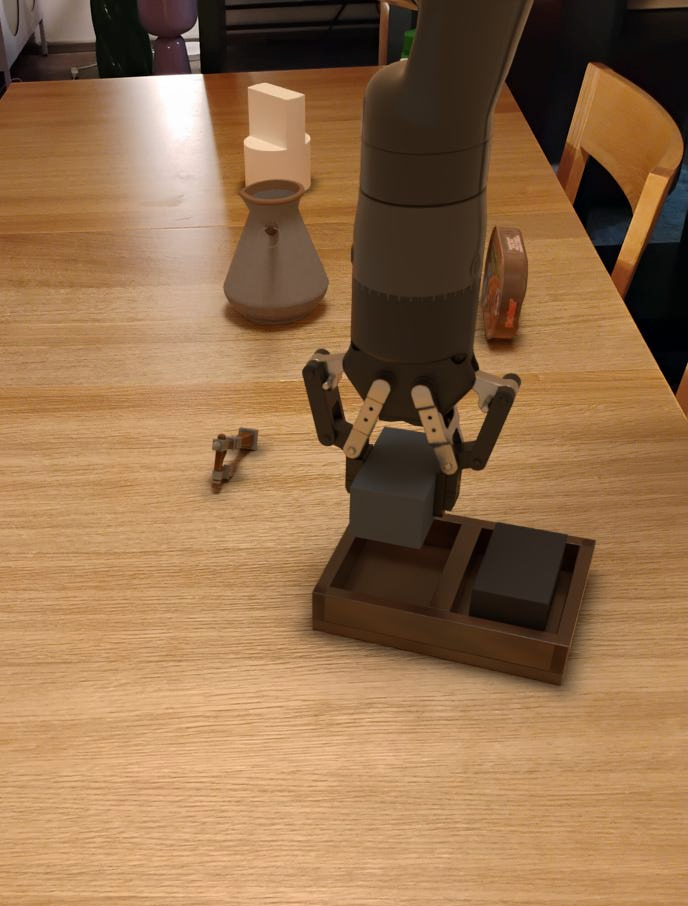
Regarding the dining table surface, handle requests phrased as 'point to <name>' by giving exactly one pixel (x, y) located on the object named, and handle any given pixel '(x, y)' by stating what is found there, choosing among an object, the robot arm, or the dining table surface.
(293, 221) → the coffee pot
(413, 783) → the dining table surface
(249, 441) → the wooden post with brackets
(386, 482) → the pad
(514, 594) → the dark brown rectangular block
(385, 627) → the divided wooden tray
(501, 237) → the tin
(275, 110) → the cylinder with rectangular tab
